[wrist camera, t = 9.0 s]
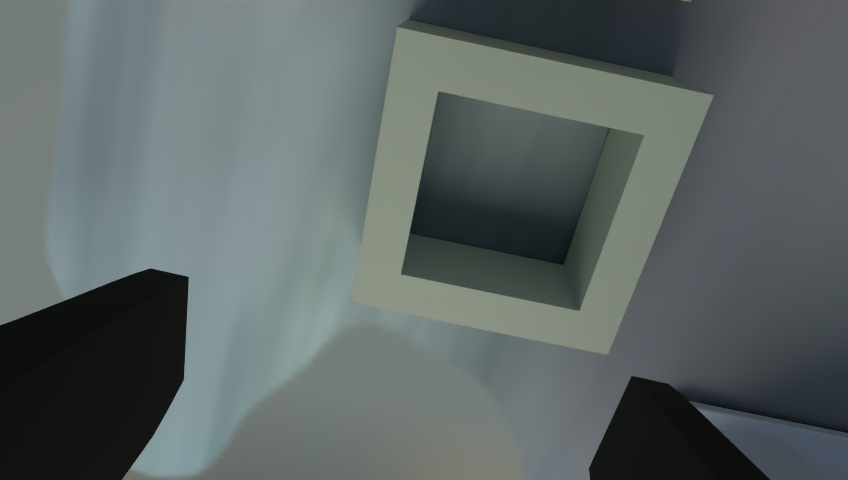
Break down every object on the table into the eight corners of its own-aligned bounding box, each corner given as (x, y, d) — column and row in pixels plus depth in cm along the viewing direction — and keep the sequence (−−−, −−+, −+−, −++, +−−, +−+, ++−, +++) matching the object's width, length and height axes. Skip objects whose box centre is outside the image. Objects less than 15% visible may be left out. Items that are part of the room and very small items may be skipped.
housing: (673, 76, 17) (714, 95, 14) (588, 304, 20) (607, 355, 17) (408, 19, 17) (396, 26, 14) (366, 258, 20) (351, 302, 17)
